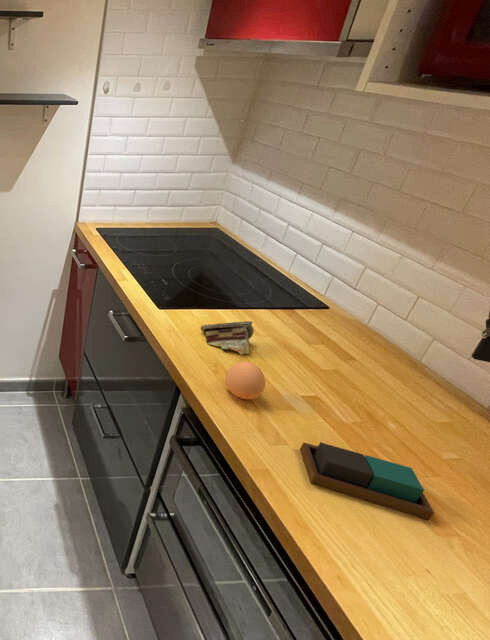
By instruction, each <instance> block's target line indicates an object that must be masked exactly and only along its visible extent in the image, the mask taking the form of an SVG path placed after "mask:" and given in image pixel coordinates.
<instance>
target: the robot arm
mask: <svg viewBox="0 0 490 640" xmlns="http://www.w3.org/2000/svg"><path fill="white" fill-rule="evenodd" d="M481 336H482V338H481V339H480V341H479V342H478V344H477V345H476V347H475V348H474V351H473V352H472V353H471V358H472V359H473V360H477V361H481V362H486V363H490V310H489V311H488V318H487V319H486V320H485V329H484V330H483V331H482V332H481Z"/></svg>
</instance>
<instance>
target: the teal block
mask: <svg viewBox="0 0 490 640" xmlns="http://www.w3.org/2000/svg"><path fill="white" fill-rule="evenodd" d="M364 457H365V459H366V461H367V463H368V466H369V468H370V470H371V472H372V474H373V476H372V478H371V479H370V481H369V483H368V484H367V486H366V489H369V490H372V491H376V492H379V493H382V494H385V495H389V496H392V497H395V498H399V499H402V500H405V501H408V502H412V503H416V501H417V500H418V498H419V497H420V495H421V494H422V492H423V493H424V491H425V489H424V487H423V486H422V484H421V482H420V480H419V479H418V476H417V475H416V473H415V472H414V470H413V468H412V467H409V466H405V465H402V464H399V463H395V462H392V461H388V460H385V459H382V458H377V457H374V456H370V455H367V454H365V455H364Z"/></svg>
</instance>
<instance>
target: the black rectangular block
mask: <svg viewBox="0 0 490 640" xmlns="http://www.w3.org/2000/svg"><path fill="white" fill-rule="evenodd" d="M317 446H318V448H317V450H316V452H315V454H314V456H313V459H314V462H315V465H316V468H317V471H318V474H320V475H323V476H326V477H330V478H333V479H336V480H339V481H343V482H346V483H349V484H353V485H356V486H359V487H362V488H366V486H367V484H368V483H369V481H370V479H371V478H372V476H373V474H372V472H371V470H370V468H369V466H368V463H367V461H366V459H365V455H364V454H363V453H360V452H357V451H353V450H348V449H345V448H342V447H339V446H334V445H331V444H328V443H324V442H319V444H318V445H317Z"/></svg>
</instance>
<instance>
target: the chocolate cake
mask: <svg viewBox="0 0 490 640" xmlns="http://www.w3.org/2000/svg"><path fill="white" fill-rule="evenodd" d="M200 331H201V332H202V333H204V334H205V339H206V343H207V344H208V345H211V346H215V347H219V348H221V350H222V351H223V352H227V351H228V350H230V351H235V352H237V353H238V354H239V355H241V356H243V355H244V354H245V355H249V353H250V339H251V338H252V337H253V336H254V332H255V331H254V327H253V321H252V320H247V321H235V322H225V323H215V324H211V323H208V324H202V325H201V326H200Z"/></svg>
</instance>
